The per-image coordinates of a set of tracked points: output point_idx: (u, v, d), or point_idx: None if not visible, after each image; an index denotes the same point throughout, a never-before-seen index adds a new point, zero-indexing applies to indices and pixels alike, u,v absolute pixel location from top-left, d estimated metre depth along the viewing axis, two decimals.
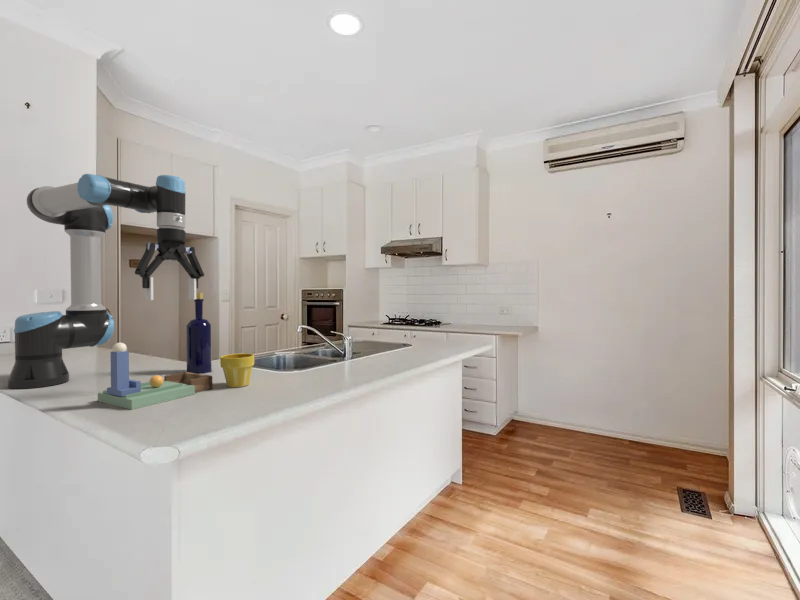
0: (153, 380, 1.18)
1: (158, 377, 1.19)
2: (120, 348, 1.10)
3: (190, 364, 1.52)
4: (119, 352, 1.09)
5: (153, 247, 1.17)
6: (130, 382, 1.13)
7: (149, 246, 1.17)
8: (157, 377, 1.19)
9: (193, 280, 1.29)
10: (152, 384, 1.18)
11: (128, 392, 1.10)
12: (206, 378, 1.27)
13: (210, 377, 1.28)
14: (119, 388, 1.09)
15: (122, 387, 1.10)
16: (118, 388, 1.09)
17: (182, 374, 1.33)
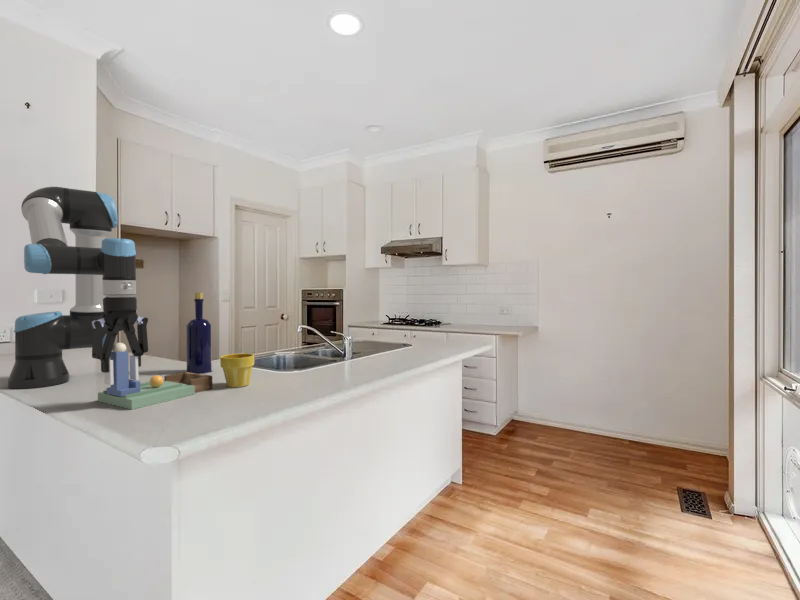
0: (153, 380, 1.18)
1: (158, 377, 1.19)
2: (120, 348, 1.09)
3: (190, 364, 1.52)
4: (119, 352, 1.09)
5: (99, 325, 1.05)
6: (130, 382, 1.13)
7: (94, 326, 1.05)
8: (157, 377, 1.19)
9: (134, 358, 1.13)
10: (152, 384, 1.18)
11: (128, 392, 1.09)
12: (206, 378, 1.27)
13: (210, 377, 1.28)
14: (119, 388, 1.09)
15: (122, 387, 1.10)
16: (118, 388, 1.09)
17: (182, 374, 1.33)
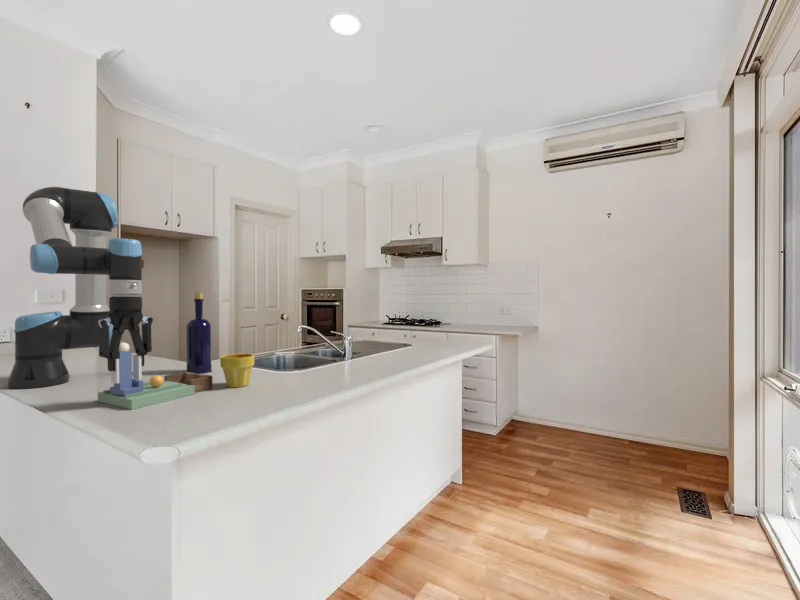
0: (153, 380, 1.18)
1: (158, 377, 1.19)
2: (123, 347, 1.10)
3: (190, 364, 1.52)
4: (122, 352, 1.10)
5: (105, 325, 1.06)
6: (133, 381, 1.14)
7: (100, 325, 1.06)
8: (157, 377, 1.19)
9: (138, 358, 1.14)
10: (152, 384, 1.18)
11: (131, 391, 1.10)
12: (206, 378, 1.27)
13: (210, 377, 1.28)
14: (122, 387, 1.10)
15: (125, 386, 1.11)
16: (121, 387, 1.10)
17: (182, 374, 1.33)
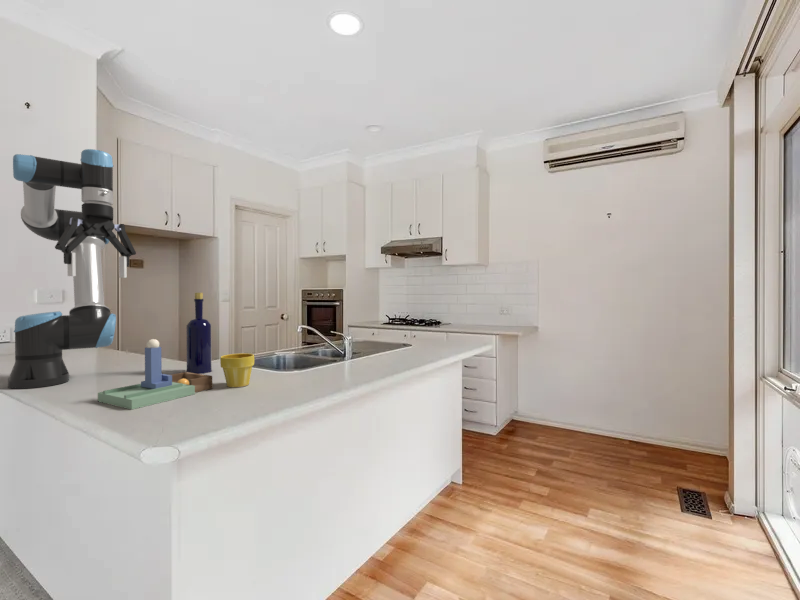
0: None
1: None
2: (154, 344, 1.18)
3: (190, 364, 1.52)
4: (153, 348, 1.17)
5: (75, 222, 1.15)
6: (162, 376, 1.21)
7: (71, 221, 1.15)
8: None
9: (123, 258, 1.26)
10: None
11: (161, 385, 1.18)
12: (206, 378, 1.27)
13: (210, 377, 1.28)
14: (153, 381, 1.17)
15: (155, 380, 1.18)
16: (152, 381, 1.17)
17: (182, 374, 1.33)
